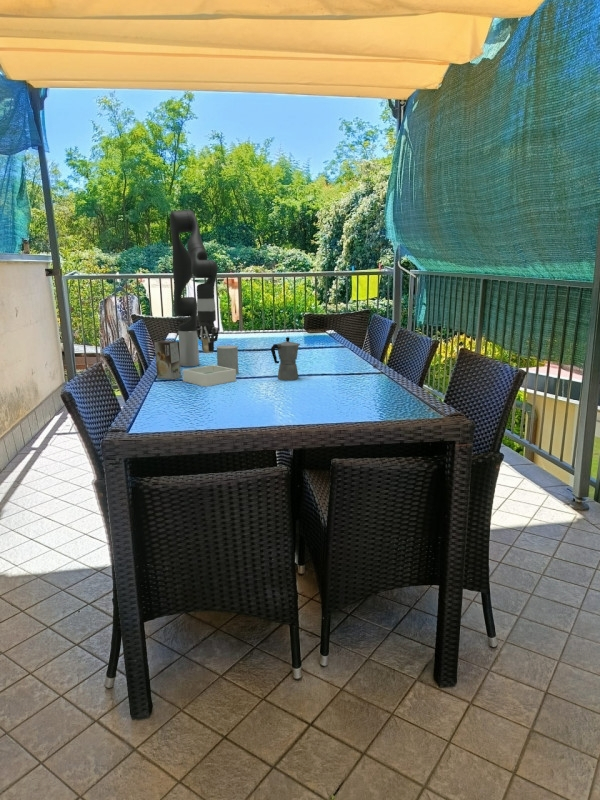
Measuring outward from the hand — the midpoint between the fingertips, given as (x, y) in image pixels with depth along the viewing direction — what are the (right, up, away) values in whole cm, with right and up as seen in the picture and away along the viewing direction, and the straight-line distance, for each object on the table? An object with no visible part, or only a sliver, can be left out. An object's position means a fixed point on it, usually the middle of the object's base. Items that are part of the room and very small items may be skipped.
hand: (208, 350), depth 232 cm
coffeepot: (+33, -12, +7) cm, 35 cm away
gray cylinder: (+6, -9, +20) cm, 22 cm away
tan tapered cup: (0, -1, 0) cm, 1 cm away
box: (0, -13, +3) cm, 13 cm away
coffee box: (-19, -11, +11) cm, 24 cm away
